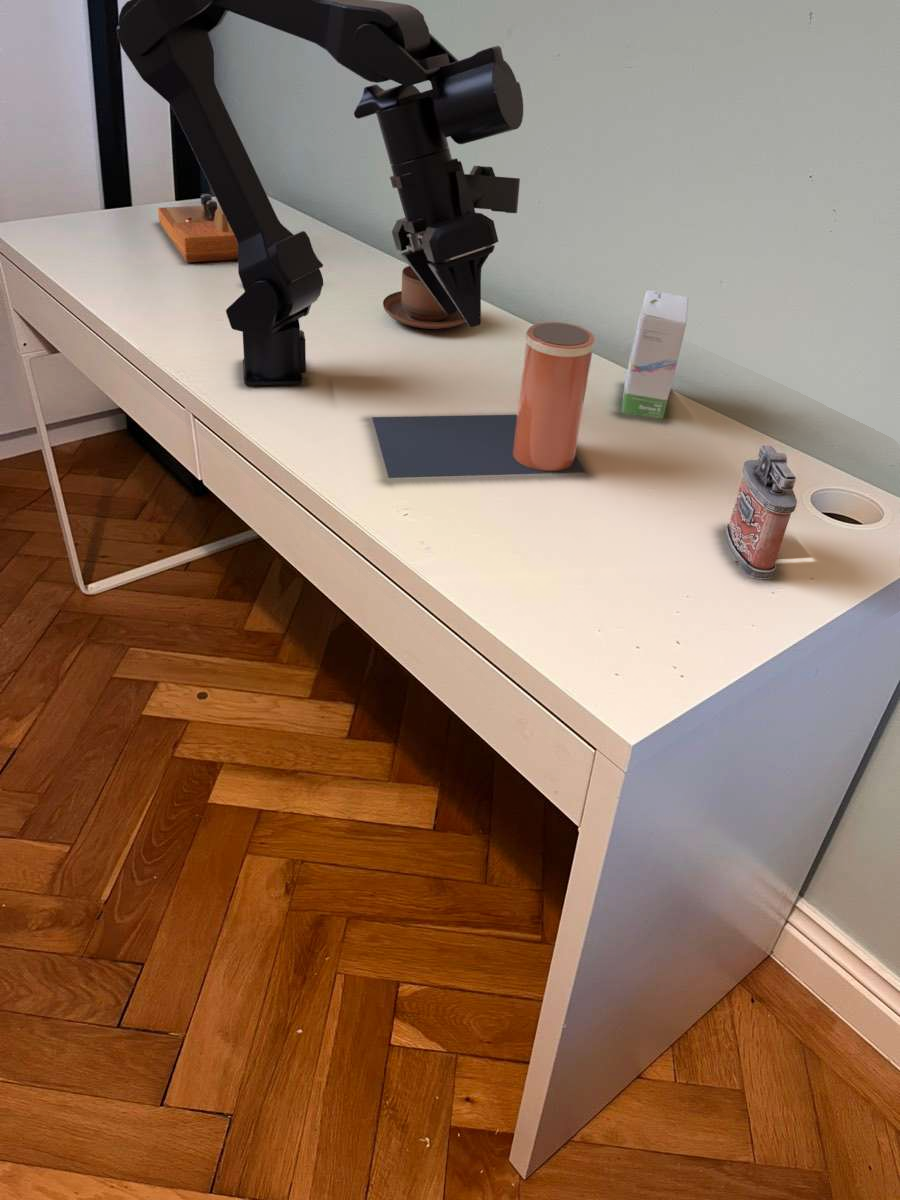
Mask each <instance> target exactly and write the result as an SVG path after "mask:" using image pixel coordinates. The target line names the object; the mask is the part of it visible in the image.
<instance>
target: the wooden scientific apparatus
mask: <svg viewBox="0 0 900 1200" xmlns="http://www.w3.org/2000/svg"><path fill="white" fill-rule="evenodd" d="M157 209H158V210H157V213H158V221H159V224H160V226H161V227H162V229H163V230H164V232H165V233H166V234H167V237H169V239H170V240H171V242H172V243H173V245H174V247H175V248H176V249H177V251H178V252H179V253H180V255H181V256H182V258H183V260H184V262H186V263H189V264H190V263H203V262H204V263H205V262H218V261H234V260H235V261H236V260H238V243H237V240H236V238H235V236H234V233H233V231H232V229H231V227H230V225H229V223H228V221H227V219H226V217H225V215H224V213H223V211H222V209H221V207H220V205H219V204H218V201H216V200H213V197H212V195H211V194H209V193H202V194H201V195H200V205H189V206H187V205H186V206H167V207H158V208H157Z"/></svg>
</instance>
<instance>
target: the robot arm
mask: <svg viewBox="0 0 900 1200" xmlns="http://www.w3.org/2000/svg"><path fill="white" fill-rule="evenodd" d="M228 12H230V13H233V14H236V15H237V16H238V15H239V16H241V17H243V18H246V19H249V20H251V21H255V22H257V23H260V24H263V25H265V26H268V27H270V28H273V29H276V30H279V31H281V32H284V33H287V34H290V35H292V36H294V37H297V38H300V39H301V40H302V39H303V40H306V41H309V43H310V42H311V43H313V44H315V45H317V46H319V47H321V48H322V49H324V50H325V51H326V52H327V53H328V54H329V55H330V56H331V57H332V58H333V59H334V60H335V61H336V63H338V64H339V65H341V66H342V67H344V68H346V69H348V70H349V71H351V72H352V73H354V74H355V75H357V76H359V77H360V78H362V79H364V80H365V81H368V82H370V83H376V84H372V85H368V86H365V87H364V88H363V92H362V96H361V99H360V101H359V102H358V103H357V106H356V108H355V110H354V112H353V115H354V118H355V119H362V118H366V117H368V116H373V115H375V114H376V117H377V122H378V125H379V128H380V133H381V136H382V139H383V143H384V146H385V150H386V154H387V157H388V161H389V164H390V167H391V172H392V176H389V179H390V183H391V187H392V188H393V189H397V193H398V196H399V199H400V204H401V207H402V211H403V214H404V217H402V218H400V219H396V222H395V224H394V226H393V228H392V230H391V234H392V238H393V242H394V245H395V248H396V250H397V251H399V252H402V253H401V254H400V255H401V257H402V259H404V260H405V262H406V263H407V264H408V266H410V267H411V268H412V269H413V271H414V272H415V273H416V274H417V276H418V277H419V278H420V280H421V281H422V282H423V284H424V285H425V286H426V287H427V289H428V290H429V291H430V293H431V294H432V295H433V297H434V298H435V299H436V301H437V302H438V303H439V305H440V306H441V308H442V309H443V310H444V312H445V313H446V314H447V315H452V314H454V313H456V312H457V309H458V310H459V312H460V313H461V315H462V316H463V318H464V319H465V321H466V322H465V323H466V324H467V325H468V327H470V328H474V327H478V326H480V325H481V323H482V311H481V310H482V291H481V290H482V268H483V266H484V264H485V262H487V261H486V260H487V259H488V257H489V256H490V255H491V254H493V252H494V250H495V248H496V245H495V244H497V243H498V242H499V238H498V234H497V230H496V226H495V222H494V220H493V219H492V218H489V217H488V216H487V215H485V214H483V213H482V212H476V210H475V209H479V210H490V211H492V212H499V213H506V214H517V213H518V209H519V208H518V207H519V197H520V184H521V178H519V177H507V176H496V174H495V171H494V168H493V167H492V166H482V165H473V167H472V169H471V170H470V172H469V173H468V174H467V173H465V171H464V168H463V163H462V162H461V161H462V160H458V158H452V154H451V150H450V146H449V142H448V138H451V140H453V142H454V143H456V144H457V145H464V144H468V143H472V142H476V141H479V140H482V139H487V138H490V137H493V136H497V135H500V134H504V133H508V132H511V131H515V130H518V129H519V128H520V127H521V125H522V123H523V118H524V98H523V92H522V88H521V84H520V82H519V81H517V79H516V76H515V74H514V71H513V69H512V68H511V66H510V64H509V63H508V62H507V61H506V60H504V59H505V58H504V56H503V55H504V54H503V51H502V50H503V49H502V47H501V46H500V45H495V46H491V47H487V48H484V49H482V50H480V51H477V52H476V53H475V54H473V55H471V56H469V57H466V58H463V59H460V60H459V59H458V58H457V57H455V55H453V54H452V53H451V52H450V51H449V50H448V49H447V48H446V47H445V46H444V45H443V44H441V42H440V41H439V40H438V39H437V38H436V37H434V35H433V34H432V33H430V29H429V26H428V25H427V22H426V20H425V16H424V13H422V12H421V11H420V10H419V9H417V8H416V7H414V6H412V5H410V4H406V3H401V2H400V3H398V2H391V1H383V0H127V1H126V2H125V3H124V5H123V6H122V7H121V10H120V13H119V15H118V25H117V27H116V34H117V38H118V41H119V44H120V47H121V49H122V50H123V52H124V54H125V55H126V57H127V58H128V60H129V61H130V63H131V64H132V66H133V67H134V69H135V71H136V72H137V73H138V75H139V76H140V78H141V79H142V81H144V82H145V84H147V85H148V86H149V87H150V88H152V89H153V90H154V91H155V92H156V93H157V94H158V95H159V96H160V97H162V98H163V99H164V100H165V101H166V102H167V104H169V106H170V108H171V109H172V111H173V113H174V115H175V117H176V119H177V121H178V123H179V125H180V127H181V129H182V131H183V133H184V135H185V137H186V139H187V141H188V143H189V145H190V148H191V150H192V152H193V154H194V156H195V158H196V160H197V163H198V165H199V166H200V168H201V170H202V171H203V174H204V176H205V178H206V180H207V183H208V185H209V186H210V189H211V190H212V192H213V193H212V194H213V195H214V197H215V199H216V200H217V201H216V202H217V204H218V205H220V207H221V209H222V211H223V213H224V215H225V217H226V219H227V221H228V223H229V225H230V227H231V229H232V231H233V233H234V236H235V238H236V240H237V243H238V259H237V268H238V269H237V270H238V271H237V273H238V277H239V280H240V282H241V285H242V287H243V291H244V292H243V293H242V294H241V295H240V296H239V297H238V298H237V299H235V300H234V301H233V302H232V304H230V305H229V306H228V307H227V308H226V309H225V313H226V316H227V319H228V322H229V325H230V328H231V329H232V330H234V331H237V332H241V333H242V348H243V351H242V352H243V359H242V368H243V369H242V370H243V371H242V373H243V384H244V385H245V386H297V385H298V386H299V385H300V386H301V385H303V381H304V379H303V375H304V374H305V373H306V372H307V365H306V364H307V363H306V362H307V358H306V357H307V356H306V355H307V353H306V349H307V348H306V337H305V336H306V335H305V331H304V330H302V329H301V325H300V319H301V318H303V317H306V316H308V315H309V313H310V310H311V307H312V305H313V304H314V303H316V302H317V301H318V299H319V297H320V296H321V293H322V288H323V286H324V278H323V274H322V272H321V270H320V269H321V268H323V267H324V264H323V263H322V261H321V260H320V259H319V258H318V257H317V255H316V253H315V251H314V248H313V245H312V242H311V239H310V237H309V235H308V233H307V232H306V231H304V230H302V231H299V232H298V233H297V232H296V233H295V234H293V232H291V231H290V230H289V229H288V228H287V227H286V226H284V224H282V222H280V219H279V218H278V216H277V213H276V212H275V210H274V208H273V206H272V203H271V201H270V199H269V196H268V195H267V193H266V190H265V189H264V187H263V184H262V182H261V180H260V178H259V176H258V174H257V172H256V169H255V167H254V165H253V162H252V161H251V158H250V156H249V154H248V152H247V149H246V148H245V146H244V143H243V142H242V140H241V137H240V136H239V132H238V131H237V128H236V127H235V125H234V123H233V120H232V118H231V116H230V114H229V112H228V110H227V108H226V105H225V103H224V101H223V99H222V97H221V95H220V93H219V91H218V88H217V85H216V83H215V51H214V47H213V45H212V42H211V38H210V36H209V35H210V34H211V33H212V32H213V31H214V30H216V29H217V27H219V26H220V25H221V24H222V23H223V21H224V20H225V18H226V16H227V15H228ZM387 81H392V82H395V83H397V84H399V85H397V86H393V87H391V88H388V89H384V88H382V87H380V85H378V84H379V83H384V82H387ZM424 82H425V83H426V82H430V84H431V89H428V90H425V91H420V90H419V89H418V88H417V86H415V85H417V84H421V83H424Z"/></svg>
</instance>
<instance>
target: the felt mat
mask: <svg viewBox="0 0 900 1200" xmlns="http://www.w3.org/2000/svg"><path fill="white" fill-rule="evenodd" d="M371 418H372V423H373V426H374V431H375V434H376V437H377V441H378V444H379V448H380V452H381V455H382V459H383V463H384V467H385V470H386V474H387V477H388V479H399V478H401V479H402V478H434V477H440V478H441V477H472V476H473V477H474V476H476V477H477V476H506V475H507V476H508V475H541V474H542V475H543V474H575V473H578V474H579V473H586V470H585V468H584V467H583V465H582V463H581V462H580V460H579V458H578V457H577V455H576V454H575V459H574V462H573V464H572V465H571V466H570V467H568V468H566V469H563V470H558V471H541V470H535V469H532V468H529V467H526V466H524V465H522V464H520V463H519V462H517V461H516V460H515V458H514V457H513V454H512V451H513V443H514V435H515V427H516V419H517V414H485V415H483V414H482V415H481V414H480V415H479V414H478V415H423V416H422V415H420V416H417V415H416V416H372V417H371Z"/></svg>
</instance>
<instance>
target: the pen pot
mask: <svg viewBox="0 0 900 1200" xmlns="http://www.w3.org/2000/svg"><path fill="white" fill-rule="evenodd" d="M595 343H596V339H595V335H594V334H593V333H592V332H591V331H590V330H588V329H586V328H584V327H582V326H579V325H576V324H572V323H569V322H561V321H560V322H559V321H544V322H539V323H535V324H532V325H531V326H530V327H528V328H527V330H526V336H525V347H524V355H523V364H522V371H521V379H520V388H519V395H518V403H517V410H516V411H517V413H516V415H517V419H516V427H515V435H514V443H513V451H512V454H513V457H514V458H515V460H516V461H517V462H519V463H520V464H522V465H524V466H526V467H529V468H532V469H535V470H541V471H558V470H563V469H566V468H568V467H570V466H571V465H572V464H573V462H574V459H575V455H576V453H577V447H578V441H579V435H580V428H581V422H582V416H583V410H584V404H585V399H586V393H587V386H588V380H589V374H590V368H591V363H592V357H593V351H594V348H595Z"/></svg>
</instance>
